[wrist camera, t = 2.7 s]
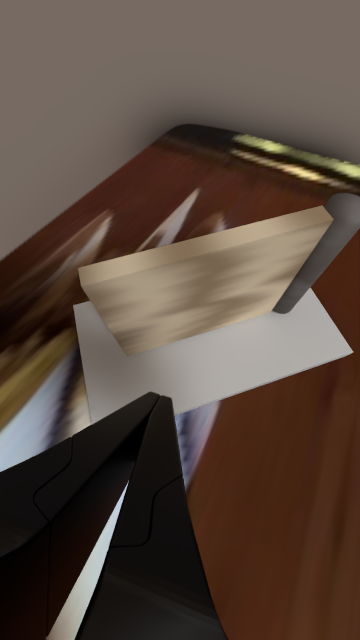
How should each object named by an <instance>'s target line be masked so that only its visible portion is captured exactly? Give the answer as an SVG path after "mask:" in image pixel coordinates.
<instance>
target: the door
mask: <svg viewBox="0 0 360 640" xmlns="http://www.w3.org/2000/svg"><path fill="white" fill-rule="evenodd" d="M359 228H360V197H358V196H356V195H353V194H349V193H339V194H335V195H333V196H332V197H331V198H330V199H329V201H328V202H327V204H326V205H325V207H323V206H319V207H315V208H311V209H307V210H303V211H299V212H295V213H291V214H287V215H283V216H280V217H276V218H272V219H268V220H264V221H260V222H256V223H252V224H248V225H244V226H240V227H236V228H233V229H229V230H225V231H221V232H217V233H213V234H209V235H205V236H201V237H197V238H193V239H189V240H186V241H182V242H178V243H174V244H170V245H166V246H162V247H158V248H154V249H150V250H146V251H143V252H139V253H135V254H131V255H127V256H123V257H119V258H115V259H111V260H107V261H103V262H99V263H96V264H92V265H88V266H84V267H80V268H78V272H79V277H80V283H81V287H82V289H83V290H84V292H85V293H86V295H87V296H88V298H89V299H90V301H91V302H92V304H93V305H94V307H95V308H96V310H97V311H98V313H99V315H100V316H101V318H102V319H103V321H104V322H105V324H106V325H107V327H108V328H109V330H110V331H111V333H112V334H113V336H114V337H115V339H116V340H117V342H118V344H119V345H120V347H121V348H122V350H123V351H124V353H125V354H126V356H127V357H128V356H131V355H134V354H138V353H141V352H144V351H147V350H150V349H154V348H157V347H160V346H163V345H167V344H170V343H173V342H176V341H180V340H183V339H186V338H189V337H193V336H196V335H199V334H202V333H205V332H209V331H212V330H215V329H218V328H222V327H225V326H228V325H231V324H235V323H238V322H241V321H244V320H248V319H251V318H254V317H257V316H260V315H264V314H267V313H270V312H271V311H272V310H273V311H274V312H276V313H279V314H286V313H289V312H290V311H291V310H292V309H293V308H294V306H295V305H296V304H297V303H298V302H299V300H300V299H301V298H302V297H303V295H304V294H305V293H306V292H307V291H308V289H309V288H310V287H311V286H312V285H313V283H314V282H315V281H316V280H317V279H318V277H319V276H320V275H321V274H322V273H323V271H324V270H325V269H326V268H327V267H328V265H329V264H330V263H331V262H332V261H333V259H334V258H335V257H336V256H337V255H338V253H339V252H340V251H341V250H342V249H343V247H344V246H345V245H346V244H347V243H348V241H349V240H350V239H351V238H352V237H353V235H354V234H355V233H356V232H357V230H358V229H359Z"/></svg>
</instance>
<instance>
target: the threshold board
mask: <svg viewBox="0 0 360 640" xmlns="http://www.w3.org/2000/svg"><path fill="white" fill-rule="evenodd" d="M73 308H74V314H75V321H76V327H77V333H78V340H79V346H80V352H81V359H82V365H83V371H84V378H85V384H86V390H87V397H88V403H89V409H90V416H91V422H92V424H94V423H95V422H97V421H99V420H101V419H102V418H104V417H106V416H107V415H109V414H111V413H113V412H114V411H116V410H118V409H120V408H121V407H123V406H125V405H127V404H128V403H130V402H132V401H134V400H135V399H137V398H139V397H141V396H142V395H144V394H146V393H148V392H150V391H152V392H155V393H158V394H160V396H161V395H164V396H167V397H171V398H172V401H173V408H174V415H175V416H176V415H179V414H181V413H184V412H187V411H190V410H193V409H196V408H199V407H201V406H204V405H207V404H210V403H213V402H216V401H219V400H221V399H224V398H227V397H230V396H233V395H236V394H239V393H242V392H244V391H247V390H250V389H253V388H256V387H259V386H262V385H264V384H267V383H270V382H273V381H276V380H279V379H282V378H284V377H287V376H290V375H293V374H296V373H299V372H302V371H304V370H307V369H310V368H313V367H316V366H319V365H322V364H325V363H327V362H330V361H333V360H336V359H339V358H342V357H345V356H347V355H349V354H351V353H353V351H352V350H351V348H350V347H349V345H348V344H347V342H346V341H345V339H344V338H343V336H342V335H341V333H340V332H339V330H338V329H337V327H336V326H335V324H334V323H333V321H332V320H331V318H330V317H329V315H328V314H327V312H326V311H325V309H324V308H323V306H322V305H321V303H320V302H319V300H318V299H317V297H316V296H315V294H314V292H313V291H312V289H311V288H309V289H308V291H307V292H306V293H305V294H304V295H303V297H302V298H301V299H300V300H299V302H298V303H297V304H296V305H295V306H294V308H293V309H292V310H291V311H290V312H289V313H286V314H279V313H276V312H274V311H273V310H272V311H271V312H270V313H267V314H264V315H260V316H257V317H254V318H251V319H248V320H244V321H241V322H238V323H235V324H231V325H228V326H225V327H222V328H218V329H215V330H212V331H209V332H205V333H202V334H199V335H196V336H193V337H189V338H186V339H183V340H180V341H176V342H173V343H170V344H167V345H163V346H160V347H157V348H154V349H150V350H147V351H144V352H141V353H138V354H134V355H131V356H128V357H127V356H126V354H125V353H124V351H123V350H122V348H121V347H120V345H119V344H118V342H117V340H116V339H115V337H114V336H113V334H112V333H111V331H110V330H109V328H108V327H107V325H106V324H105V322H104V321H103V319H102V318H101V316H100V315H99V313H98V311H97V310H96V308H95V307H94V305H93V304H92V302H91V301H87V302H84V303H80V304H76V305H73Z"/></svg>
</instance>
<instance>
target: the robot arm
mask: <svg viewBox="0 0 360 640" xmlns="http://www.w3.org/2000/svg"><path fill="white" fill-rule="evenodd" d="M128 481H129V483H128ZM127 483H128V486H127V489H126V493H125V496H124V499H123V502H122V506H121V509H120V512H119V515H118V519H117V522H116V525H115V528H114V532H113V535H112V538H111V541H110V545H109V549H108V551H107V554H106V558H105V561H104V564H103V567H102V570H101V573H100V576H99V579H98V582H97V584H96V587H95V590H94V592H93V595H92V597H91V600H90V602H89V605H88V607H87V610H86V612H85V615H84V617H83V620H82V622H81V625H80V627H79V630H78V632H77V635H76V637H75V640H228V638H227V636H226V634H225V632H224V630H223V627H222V625H221V623H220V620H219V618H218V615H217V612H216V609H215V606H214V603H213V600H212V597H211V593H210V590H209V586H208V582H207V579H206V575H205V571H204V568H203V564H202V560H201V556H200V553H199V549H198V545H197V542H196V538H195V534H194V530H193V526H192V522H191V518H190V514H189V509H188V504H187V498H186V493H185V486H184V479H183V473H182V466H181V459H180V451H179V444H178V437H177V430H176V422H175V415H174V408H173V401H172V398H171V397H167V396H164V395H161V396H160V394H158V393H155V392H152V391H150V392H148V393H146V394H144V395H142V396H141V397H139V398H137V399H135V400H134V401H132V402H130V403H128V404H127V405H125V406H123V407H121V408H120V409H118V410H116V411H114V412H113V413H111V414H109V415H107V416H106V417H104V418H102V419H101V420H99V421H97V422H95V423H94V424H92V425H90V426H88V427H87V428H85V429H83V430H81V431H80V432H78V433H76V434H74V435H73V436H72V437H69V438H67V439H65V440H64V441H62V442H60V443H58V444H57V445H55V446H53V447H51V448H49V449H47V450H45V451H44V452H42V453H40V454H38V455H36V456H34V457H32V458H29V459H27V460H25V461H23V462H21V463H19V464H17V465H15V466H13V467H10V468H8V469H6V470H4V471H2V472H0V640H46V637H47V636H48V635H49V633H50V631H51V629H52V627H53V625H54V623H55V621H56V619H57V617H58V616H59V614H60V612H61V610H62V608H63V606H64V604H65V602H66V600H67V598H68V596H69V594H70V593H71V591H72V589H73V587H74V585H75V583H76V581H77V579H78V577H79V575H80V573H81V571H82V570H83V568H84V566H85V564H86V562H87V560H88V558H89V556H90V554H91V552H92V550H93V548H94V546H95V545H96V543H97V541H98V539H99V537H100V535H101V533H102V531H103V529H104V527H105V525H106V523H107V522H108V520H109V518H110V516H111V514H112V512H113V510H114V508H115V506H116V504H117V502H118V500H119V499H120V497H121V495H122V493H123V491H124V489H125V487H126V485H127Z"/></svg>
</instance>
